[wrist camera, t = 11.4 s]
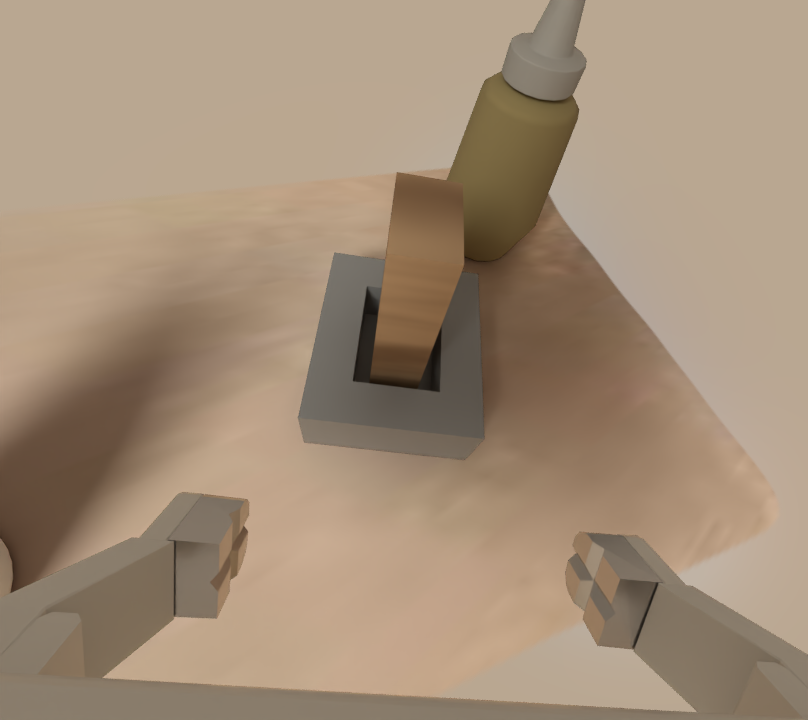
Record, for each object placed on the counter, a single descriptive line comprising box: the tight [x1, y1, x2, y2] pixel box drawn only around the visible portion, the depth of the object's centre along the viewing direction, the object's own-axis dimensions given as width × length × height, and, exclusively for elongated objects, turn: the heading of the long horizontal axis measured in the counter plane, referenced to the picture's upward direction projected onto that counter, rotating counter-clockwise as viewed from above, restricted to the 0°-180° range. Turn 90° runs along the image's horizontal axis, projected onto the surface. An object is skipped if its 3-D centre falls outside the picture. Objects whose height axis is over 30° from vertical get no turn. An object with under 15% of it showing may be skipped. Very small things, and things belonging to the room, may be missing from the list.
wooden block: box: [369, 172, 464, 389], centre depth 21 cm, size 5×3×12 cm, turn 176°
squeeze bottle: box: [447, 0, 586, 261], centre depth 27 cm, size 8×8×18 cm
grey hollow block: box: [298, 253, 484, 460], centre depth 26 cm, size 12×10×4 cm
